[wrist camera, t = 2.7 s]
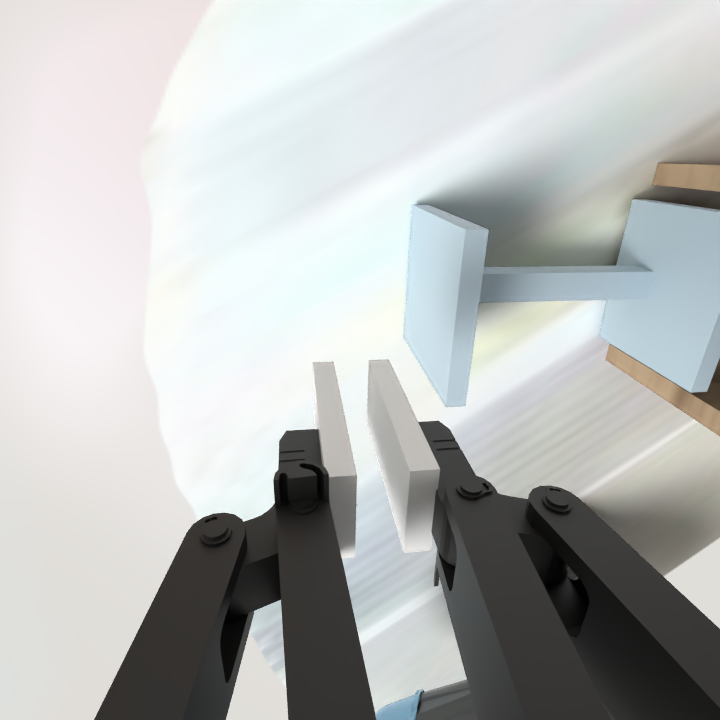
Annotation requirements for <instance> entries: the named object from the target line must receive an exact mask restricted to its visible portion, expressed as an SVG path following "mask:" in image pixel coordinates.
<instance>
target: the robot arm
mask: <svg viewBox="0 0 720 720" xmlns="http://www.w3.org/2000/svg"><path fill="white" fill-rule="evenodd" d="M313 389H314V427H315V429H310V430H293V431H286V432H285V434H284V435H283V437H282V438H281V439H280V441H279V470H278V471H277V472H276V473H275V476H274V495H275V504H274V505H273V506H272V507H271V509H270V510H269V511H267V512H266V513H264V514H263V515H261V516H259V517H256V518H254V519H251V520H248V521H245V522H243V521H242V519H240V518H239V517H237V516H236V515H234V514H229V513H217V514H212V515H209V516H206V517H203V518H202V519H200V520H199V521H197V522H196V523H194V524H193V525H192V527H191V528H190V529H189V530H188V532H187V533H186V536H185V538H184V540H183V542H182V544H181V546H180V548H179V550H178V552H177V554H176V556H175V558H174V560H173V562H172V564H171V566H170V568H169V570H168V572H167V574H166V576H165V578H164V580H163V582H162V584H161V586H160V588H159V590H158V592H157V594H156V596H155V598H154V600H153V602H152V604H151V606H150V608H149V610H148V612H147V614H146V616H145V618H144V620H143V622H142V625H141V626H140V628H139V630H138V632H137V634H136V637H135V638H134V641H133V642H132V645H131V646H130V648H129V651H128V652H127V655H126V657H125V659H124V661H123V663H122V665H121V667H120V669H119V671H118V673H117V675H116V677H115V679H114V681H113V683H112V685H111V687H110V689H109V691H108V693H107V695H106V697H105V699H104V701H103V703H102V705H101V707H100V709H99V711H98V713H97V715H96V717H95V719H94V720H226V716H227V713H228V709H229V705H230V702H231V698H232V694H233V690H234V686H235V682H236V679H237V675H238V671H239V667H240V664H241V660H242V656H243V652H244V649H245V645H246V641H247V637H248V634H249V630H250V626H251V622H252V618H253V615H254V611H255V610H257V609H259V608H262V607H264V606H266V605H269V604H271V603H274V602H276V601H278V600H281V606H282V622H283V638H284V654H285V671H286V687H287V702H288V719H289V720H720V629H719V628H718V627H717V626H716V625H715V624H714V623H713V622H712V621H711V620H709V619H708V618H707V617H706V616H705V615H704V614H703V613H702V612H701V611H700V610H699V609H698V608H697V607H696V606H694V605H693V604H692V603H691V602H690V601H689V600H688V599H687V598H686V597H685V596H684V595H682V594H681V593H680V592H679V591H678V590H677V589H676V588H675V587H674V586H673V585H672V584H671V583H670V582H669V581H667V580H666V579H665V578H664V577H663V576H662V575H661V574H660V573H659V572H658V571H657V570H656V569H654V568H653V567H652V566H651V565H650V564H649V563H648V562H647V561H646V560H645V559H644V558H643V557H641V556H640V555H639V554H638V553H637V552H636V551H635V550H634V549H633V548H632V547H631V546H630V545H629V544H627V543H626V542H625V541H624V540H623V539H622V538H621V537H620V536H619V535H618V534H617V533H616V532H614V531H613V530H612V529H611V528H610V527H609V526H608V525H607V524H606V523H605V522H604V521H603V520H602V519H600V518H599V517H598V516H597V515H596V514H595V513H594V512H593V511H592V510H591V509H590V508H589V507H587V506H586V505H585V504H584V503H583V502H582V501H581V500H580V499H579V498H578V497H576V496H575V495H573V494H572V493H571V492H569V491H566V490H564V489H562V488H559V487H554V486H539V487H537V488H534V489H533V490H532V491H531V493H530V494H529V498H528V499H523V498H517V497H510V496H505V495H501V494H498V493H497V491H496V489H495V488H494V487H493V485H492V484H491V483H490V482H488V481H487V480H485V479H483V478H481V477H478V476H476V475H475V473H474V471H473V470H472V468H471V466H470V464H469V463H468V461H467V459H466V457H465V456H464V454H463V452H462V450H461V449H460V447H459V445H458V443H457V441H455V438H454V436H453V434H452V433H451V431H450V429H448V428H447V427H446V426H444V425H443V424H442V423H441V422H439V421H429V422H418V421H417V419H416V417H415V414H414V412H413V410H412V408H411V406H410V404H409V402H408V400H407V397H406V395H405V393H404V391H403V389H402V387H401V385H400V382H399V380H398V378H397V376H396V374H395V372H394V370H393V368H392V365H391V363H390V361H389V360H369V372H368V404H367V425H368V428H369V432H370V436H371V439H372V443H373V446H374V450H375V453H376V457H377V460H378V464H379V467H380V471H381V475H382V478H383V482H384V485H385V489H386V492H387V496H388V499H389V503H390V506H391V510H392V514H393V517H394V521H395V524H396V528H397V531H398V535H399V538H400V542H401V546H402V549H403V553H409V552H419V551H430V550H431V545H432V536H433V537H434V540H435V543H436V546H437V548H438V549H437V557H436V565H435V574H434V586H438V583H439V577H440V580H441V584H442V588H443V591H444V595H445V599H446V603H447V606H448V610H449V614H450V618H451V621H452V625H453V629H454V632H455V636H456V640H457V644H458V647H459V651H460V655H461V659H462V662H463V666H464V670H465V674H466V677H467V680H464V681H460V682H457V683H454V684H450V685H447V686H443V687H440V688H437V689H433V690H430V691H426V692H424V690H423V689H422V690H418V691H417V692H416V693H415V695H412V696H410V697H407V698H404V699H402V700H399V701H396V702H394V703H391V704H388V705H386V706H384V707H382V708H381V709H380V710H379V711H378V712H377V713H376V714H375V711H374V706H373V702H372V697H371V692H370V688H369V683H368V678H367V674H366V669H365V664H364V660H363V655H362V651H361V646H360V641H359V637H358V632H357V627H356V623H355V618H354V613H353V609H352V604H351V599H350V595H349V590H348V586H347V581H346V576H345V572H344V567H343V562H342V559H347V558H355V531H356V486H357V474H356V469H355V464H354V459H353V454H352V450H351V445H350V440H349V435H348V430H347V425H346V420H345V416H344V411H343V406H342V401H341V396H340V391H339V386H338V381H337V377H336V372H335V367H334V362H315V363H313Z"/></svg>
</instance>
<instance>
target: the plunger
mask: <svg viewBox="0 0 720 720" xmlns="http://www.w3.org/2000/svg"><path fill="white" fill-rule="evenodd" d="M488 233H489V229H486V228H484V227H481V226H479V225H476V224H474V223H472V222H469V221H467V220H464V219H462V218H459V217H457V216H454V215H452V214H449V213H447V212H445V211H442V210H440V209H437V208H435V207H432V206H430V205H412V210H411V225H410V241H409V256H408V272H407V287H406V303H405V318H404V334H403V337H404V339H405V341H406V342H407V344H408V346H409V347H410V349H411V351H412V352H413V354H414V356H415V357H416V359H417V361H418V362H419V364H420V366H421V367H422V369H423V371H424V372H425V374H426V376H427V377H428V379H429V381H430V382H431V384H432V386H433V387H434V389H435V390H436V392H437V394H438V395H439V397H440V399H441V400H442V402H443V404H444V405H445V407H457V406H465V405H466V398H467V390H468V383H469V375H470V368H471V360H472V353H473V345H474V338H475V330H476V323H477V315H478V308H479V303H484V302H529V301H573V300H607V303H606V307H605V311H604V315H603V319H602V323H601V327H600V331H599V335H598V336H599V337H600V338H602V339H603V340H605V341H607V342H608V343H610V344H612V345H613V346H615V347H617V348H618V349H620V350H621V351H623V352H625V353H626V354H628V355H630V356H631V357H633V358H635V359H636V360H638V361H640V362H641V363H643V364H644V365H646V366H648V367H649V368H651V369H653V370H654V371H656V372H658V373H659V374H661V375H662V376H664V377H666V378H667V379H669V380H671V381H672V382H674V383H676V384H677V385H679V386H681V387H682V388H684V389H685V390H687V391H689V392H690V393H692V392H707V390H708V387H709V385H710V382H711V379H712V377H713V374H714V372H715V369H716V366H717V364H718V361H719V358H720V210H718V209H711V208H704V207H697V206H690V205H683V204H676V203H669V202H662V201H655V200H648V199H633V200H632V204H631V208H630V212H629V216H628V220H627V224H626V228H625V232H624V236H623V240H622V243H621V247H620V251H619V255H618V259H617V263H616V265H615V266H529V267H484V263H485V255H486V248H487V240H488Z"/></svg>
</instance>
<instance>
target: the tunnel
mask: <svg viewBox="0 0 720 720" xmlns="http://www.w3.org/2000/svg"><path fill="white" fill-rule="evenodd" d="M652 185H659V186H669V187H679V188H689V189H699V190H708V191H718V192H720V164H673V163H658V165H657V169H656V173H655V177H654V180H653V184H652ZM606 360H607V361H608V362H610V363H611V364H613V365H614V366H616V367H617V368H619V369H620V370H622V371H623V372H625V373H626V374H628V375H629V376H631V377H632V378H634V379H635V380H637V381H638V382H640V383H641V384H642V385H644V386H645V387H647V388H648V389H650V390H651V391H653V392H654V393H656V394H657V395H659V396H660V397H662V398H663V399H665V400H666V401H668V402H669V403H671V404H672V405H674V406H675V407H677V408H678V409H680V410H681V411H683V412H684V413H686V414H687V415H689V416H690V417H692V418H693V419H695V420H696V421H698V422H699V423H701V424H702V425H704V426H705V427H707V428H708V429H710V430H711V431H713V432H714V433H716V434H717V435H719V436H720V358H719V361H718V364H717V366H716V369H715V372H714V374H713V377H712V379H711V382H710V385H709V387H708V390H707V392H692V393H690V392H689V391H687V390H685V389H684V388H682V387H681V386H679V385H677V384H676V383H674V382H672V381H671V380H669V379H667V378H666V377H664V376H662V375H661V374H659V373H658V372H656V371H654V370H653V369H651V368H649V367H648V366H646V365H644V364H643V363H641V362H640V361H638V360H636V359H635V358H633V357H631V356H630V355H628V354H626V353H625V352H623V351H621V350H620V349H618V348H617V347H615V346H613V345H612V344H610V346H609V350H608V353H607V357H606Z"/></svg>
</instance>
